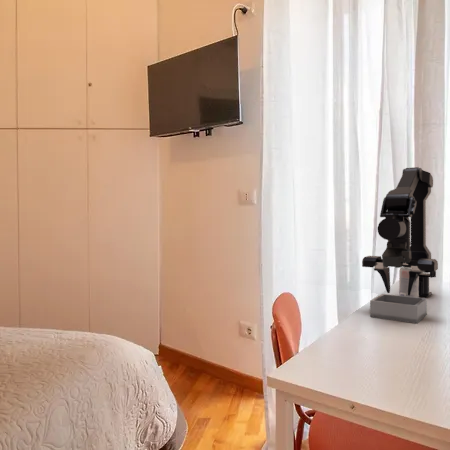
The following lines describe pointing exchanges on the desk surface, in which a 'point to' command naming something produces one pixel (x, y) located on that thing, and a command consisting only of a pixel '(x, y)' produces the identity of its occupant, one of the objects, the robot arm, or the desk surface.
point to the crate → (398, 308)
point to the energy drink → (405, 281)
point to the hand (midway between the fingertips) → (398, 294)
